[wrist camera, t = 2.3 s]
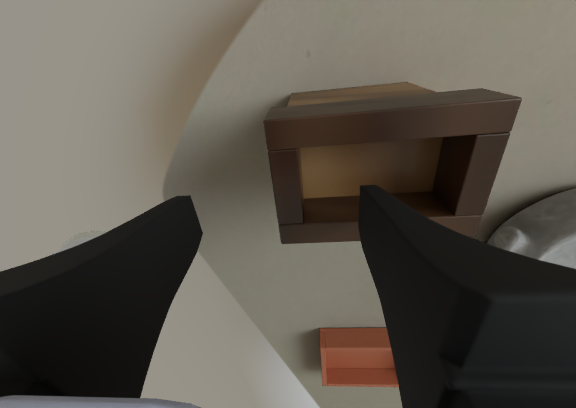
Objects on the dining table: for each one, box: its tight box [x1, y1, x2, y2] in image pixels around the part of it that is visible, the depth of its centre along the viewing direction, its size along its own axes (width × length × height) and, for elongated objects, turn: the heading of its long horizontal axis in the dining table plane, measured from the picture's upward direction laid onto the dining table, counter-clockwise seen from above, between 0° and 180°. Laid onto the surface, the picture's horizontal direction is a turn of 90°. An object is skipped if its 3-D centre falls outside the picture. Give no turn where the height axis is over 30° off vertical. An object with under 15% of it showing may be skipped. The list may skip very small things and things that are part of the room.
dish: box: [487, 188, 576, 269], centre depth 22 cm, size 14×14×5 cm
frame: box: [264, 88, 522, 244], centre depth 12 cm, size 9×6×2 cm, turn 96°
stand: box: [287, 82, 443, 199], centre depth 16 cm, size 8×5×8 cm, turn 96°
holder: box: [319, 328, 399, 387], centre depth 33 cm, size 12×9×2 cm
